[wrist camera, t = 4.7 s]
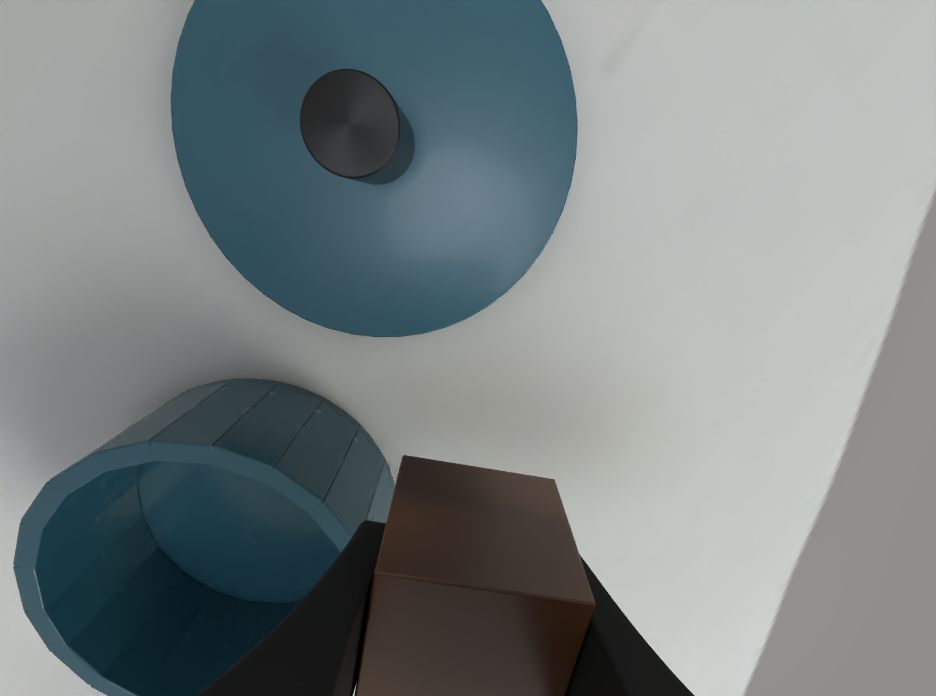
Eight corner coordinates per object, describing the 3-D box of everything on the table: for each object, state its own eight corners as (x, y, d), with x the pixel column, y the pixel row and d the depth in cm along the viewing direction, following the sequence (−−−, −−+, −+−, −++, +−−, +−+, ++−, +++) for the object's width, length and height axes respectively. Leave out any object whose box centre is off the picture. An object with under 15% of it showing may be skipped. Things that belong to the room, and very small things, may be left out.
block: (382, 579, 13) (348, 734, 9) (403, 454, 12) (373, 572, 8) (521, 598, 13) (544, 759, 9) (554, 478, 12) (596, 604, 8)
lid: (118, 168, 17) (-10, 154, 12) (340, -200, 14) (278, -398, 9) (410, 394, 19) (393, 451, 15) (650, 125, 16) (719, 94, 12)
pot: (81, 514, 21) (-47, 615, 16) (222, 320, 18) (126, 365, 13) (298, 645, 23) (250, 771, 18) (451, 490, 21) (446, 585, 15)
